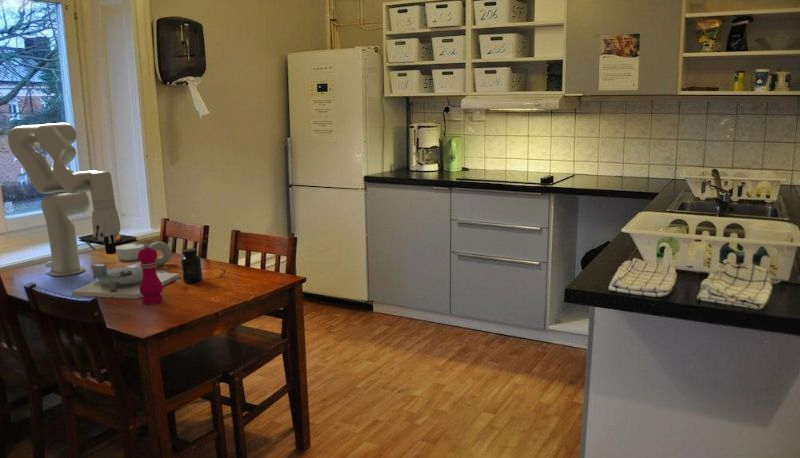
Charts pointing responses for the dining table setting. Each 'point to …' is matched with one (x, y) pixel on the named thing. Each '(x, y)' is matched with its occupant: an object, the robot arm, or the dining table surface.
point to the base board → (120, 288)
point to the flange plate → (117, 275)
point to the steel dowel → (112, 286)
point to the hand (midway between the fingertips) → (111, 253)
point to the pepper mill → (149, 276)
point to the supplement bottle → (191, 266)
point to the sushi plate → (91, 237)
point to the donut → (165, 252)
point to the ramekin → (129, 251)
